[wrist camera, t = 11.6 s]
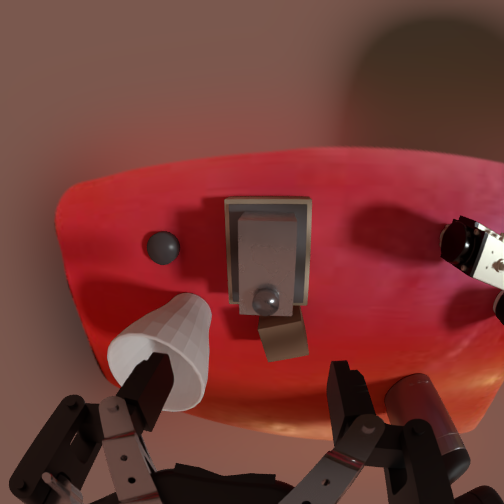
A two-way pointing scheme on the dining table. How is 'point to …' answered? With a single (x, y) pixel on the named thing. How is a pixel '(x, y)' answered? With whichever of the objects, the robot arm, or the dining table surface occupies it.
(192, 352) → the cup
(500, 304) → the dixie cup
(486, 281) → the pneumatic valve
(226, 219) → the stand
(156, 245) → the black cap
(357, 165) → the dining table surface
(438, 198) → the dining table surface
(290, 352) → the walnut block
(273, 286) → the block
